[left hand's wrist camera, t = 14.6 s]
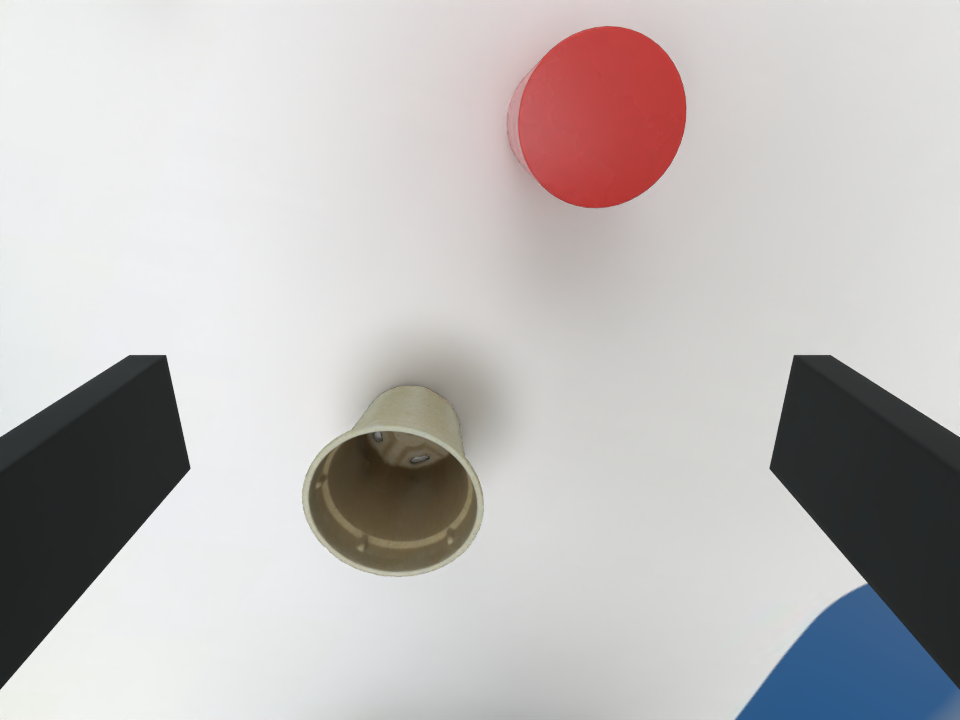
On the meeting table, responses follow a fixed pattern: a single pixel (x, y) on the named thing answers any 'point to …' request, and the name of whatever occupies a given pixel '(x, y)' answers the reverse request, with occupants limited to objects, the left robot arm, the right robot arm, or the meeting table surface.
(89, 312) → the meeting table surface
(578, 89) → the can
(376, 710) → the meeting table surface
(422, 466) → the flower pot
